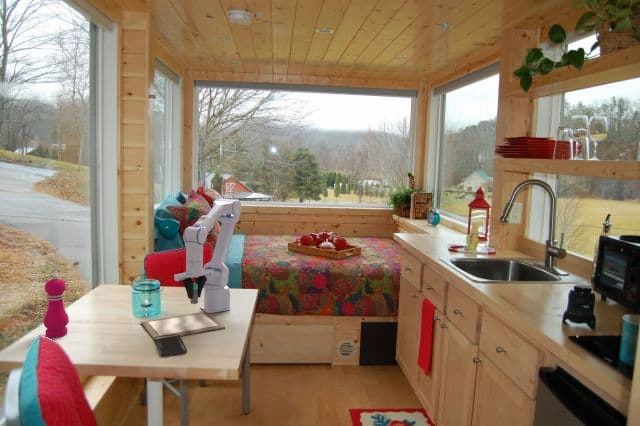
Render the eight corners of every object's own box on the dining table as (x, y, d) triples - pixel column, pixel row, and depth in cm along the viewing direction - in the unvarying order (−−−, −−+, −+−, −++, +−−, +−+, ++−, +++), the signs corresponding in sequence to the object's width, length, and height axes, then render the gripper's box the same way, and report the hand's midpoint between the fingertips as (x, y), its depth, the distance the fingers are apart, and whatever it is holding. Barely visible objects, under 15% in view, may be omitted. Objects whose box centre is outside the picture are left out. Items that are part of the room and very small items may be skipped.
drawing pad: (206, 313, 185) (206, 311, 185) (225, 328, 170) (225, 326, 170) (140, 323, 171) (140, 321, 171) (155, 341, 156) (155, 338, 156)
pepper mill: (73, 333, 160) (72, 274, 157) (52, 340, 154) (50, 278, 151) (60, 328, 163) (59, 270, 161) (39, 335, 157) (37, 274, 155)
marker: (195, 301, 177) (195, 282, 176) (199, 303, 175) (199, 284, 174) (188, 302, 175) (189, 283, 174) (192, 304, 173) (192, 285, 172)
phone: (178, 333, 162) (187, 351, 148) (178, 337, 162) (187, 354, 148) (153, 336, 158) (160, 354, 145) (153, 340, 158) (160, 358, 145)
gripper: (206, 256, 181) (206, 291, 183) (170, 260, 171) (170, 298, 173) (216, 259, 176) (216, 296, 177) (179, 264, 166) (179, 303, 168)
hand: (194, 297), depth 175 cm, fingers closed on marker, 3 cm apart
